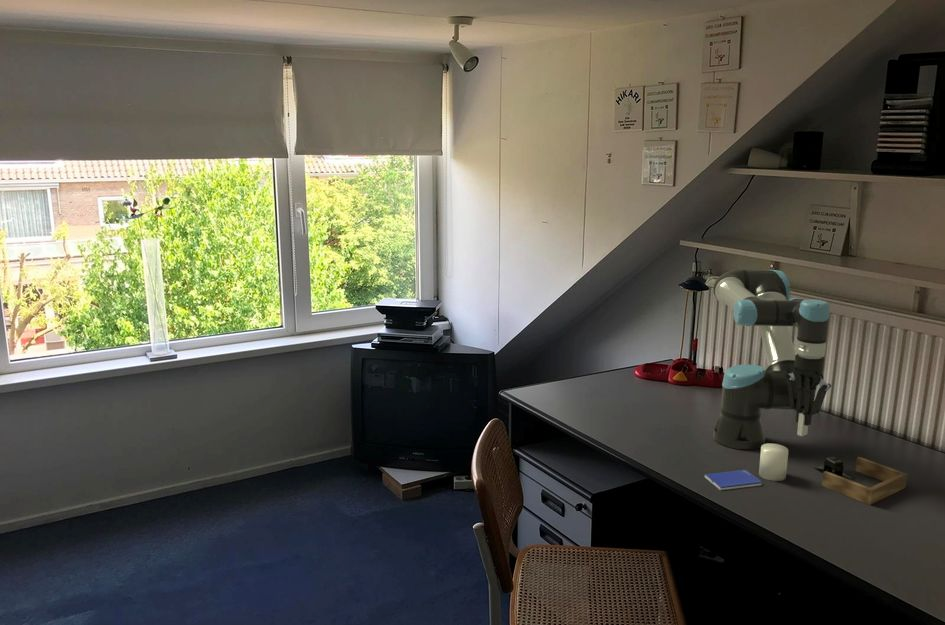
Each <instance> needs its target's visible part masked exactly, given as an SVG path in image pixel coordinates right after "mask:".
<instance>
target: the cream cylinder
mask: <svg viewBox="0 0 945 625" xmlns="http://www.w3.org/2000/svg"><path fill="white" fill-rule="evenodd" d="M788 458H789V448H787V447H786V446H785V445H781V444H779V443H765V444H763V445H762V446H761V447H760V458H759V466H758V467H759V469H758V475H759V476H760V478H763V479H764V480H768V481H773V482H778V481H779V482H781V481H785V480H786V477H787V471H788V470H787V469H788Z"/></svg>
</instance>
